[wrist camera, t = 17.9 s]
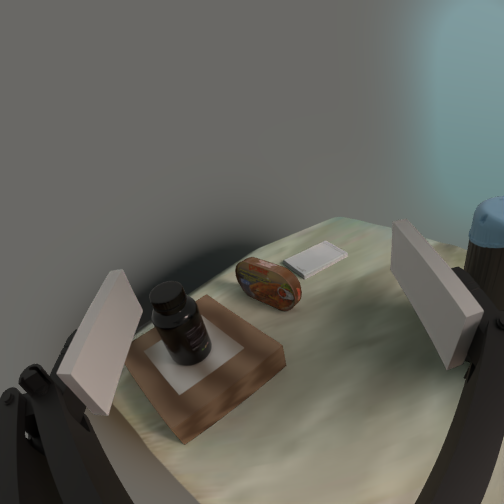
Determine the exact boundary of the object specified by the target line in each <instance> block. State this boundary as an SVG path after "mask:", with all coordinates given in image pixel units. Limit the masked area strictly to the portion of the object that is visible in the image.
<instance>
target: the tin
mask: <svg viewBox="0 0 504 504" xmlns="http://www.w3.org/2000/svg"><path fill="white" fill-rule="evenodd" d="M235 272H236V277H237V280H238V282H239V284H240V286H241V287H242V289H243V290H244V291H245V292H246V293H247V294H248V295H249V296H251V297H252V298H254V299H257V300H259V301H261V302H264V303H266V304H268V305H270V306H273V307H275V308H277V309H280V310H283V311H288V310H291V309H292V308H293V307H294V306H295V305H296V304H297V303H298V302H299V301H300V299H301V295H302V291H301V286H300V282H299V281H298V279H297V277H296V276H295V275H294V274H293V273H292V272H291V271H290V270H288V269H287V268H285V267H282V266H279V265H276V264H273V263H270V262H267V261H264V260H261V259H258V258H255V257H250V258H247V259H245V260H244V261H242V262H239V263H238V264H237V266H236V269H235Z"/></svg>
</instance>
